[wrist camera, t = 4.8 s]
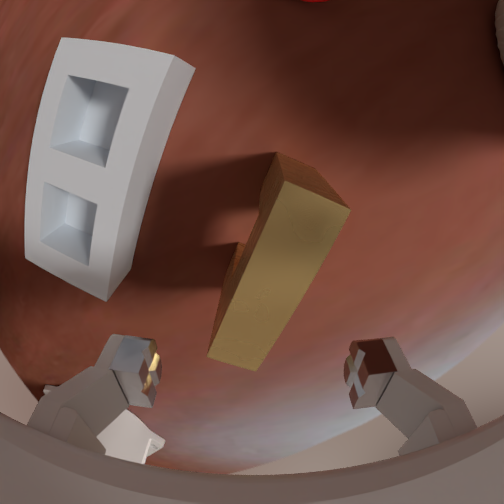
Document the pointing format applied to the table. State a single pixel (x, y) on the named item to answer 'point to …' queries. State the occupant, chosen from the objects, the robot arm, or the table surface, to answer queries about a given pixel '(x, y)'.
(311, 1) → the tow hook
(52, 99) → the hollow block
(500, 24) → the canister
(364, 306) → the table surface
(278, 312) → the yellow arch block
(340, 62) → the table surface
